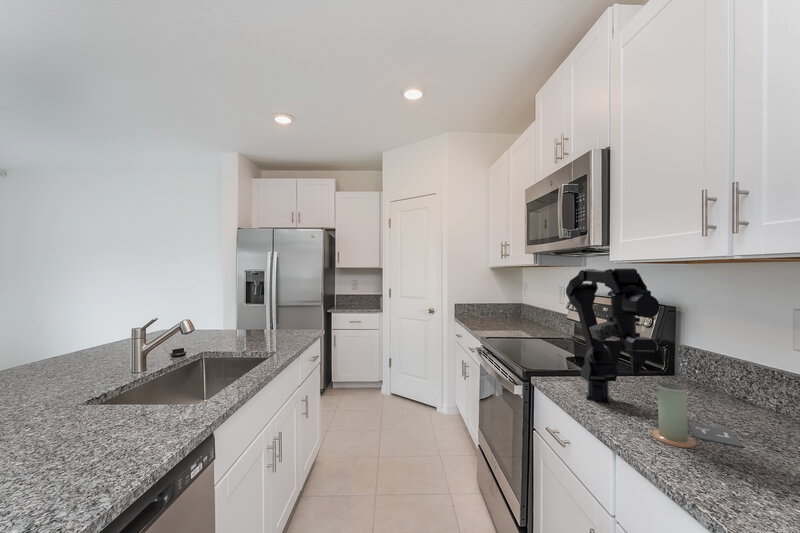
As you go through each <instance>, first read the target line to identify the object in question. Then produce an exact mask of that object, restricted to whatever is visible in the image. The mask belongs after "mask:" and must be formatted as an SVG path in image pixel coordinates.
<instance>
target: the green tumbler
mask: <svg viewBox="0 0 800 533" xmlns="http://www.w3.org/2000/svg"><path fill="white" fill-rule="evenodd" d="M657 400H658V401H657V404H658V405H657V407H658V409H657V410H658V412H657V413H658V429H659V435H660V436H662V437H663V438H666V439H668V440H672V441H676V442H687V441H688V436H689V434H688V433H689V432H688V431H689V429H688V427H689V426H688V425H689V423H688V388H687V387H686V386H684V385H682V384H678V383H673V382H658V383H657Z"/></svg>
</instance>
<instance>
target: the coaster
mask: <svg viewBox="0 0 800 533" xmlns="http://www.w3.org/2000/svg"><path fill="white" fill-rule="evenodd" d="M652 436H653V438H654V439H656V440H657V441H659V442H661V443H663V444H665V445H668V446H672V447H676V448H682V449H690V448H691V449H692V448H695V447H696V446H697V445H696V444H697V442H696V440H695V439H694V437H691V436H690V435H688V441H687V442H676V441H672V440H668V439H666V438H663V437H662V436H660V435H659V428H657V429H653V431H652Z"/></svg>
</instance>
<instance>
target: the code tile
mask: <svg viewBox="0 0 800 533" xmlns="http://www.w3.org/2000/svg"><path fill="white" fill-rule="evenodd" d="M688 425H689V427H690V429H691V431H692V433H693V435H694V438H695V439H697V440H702V441H703V440H704V441H707V442H713V443H717V444H722V445H726V446H727V445H728V446H733V447H737V448H743V445H742V444H741V443H740V441H739V440H738V438H737V437H736V436H735V434H734V433H733V431H732V430H731V429H730V428H726V427H720V426H716V425H715V426H713V425H709V424H703V423H698V422H694V421H693V422H692V421H688Z"/></svg>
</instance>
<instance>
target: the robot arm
mask: <svg viewBox="0 0 800 533" xmlns="http://www.w3.org/2000/svg"><path fill="white" fill-rule="evenodd" d="M586 282H588V283H586ZM589 282H591V283H589ZM598 283H599V284H604V287H607V288H609V289H610V291H608V292H607V296H608V297H610V308H611V309H610V314H611V315H608V316H606V321H604V322H600V323H599V322H598V320H597V317H596V313H595V309H594V306H593V305H594V302H595V299H596V295H595V294H596V292H597V291H598V289H599V287H598ZM565 295H566V296H567V297H568V301H569V303H570V304H571V305H572V306H573V307H574V308H575V309H576V310H577V315H578V319H579V323H580V326H581V330H582V333H583V337H584V338H583V339H584V341H585V344H586V347H587V349H586V350H587V351H586V354H585V355H584V364H583V365H582V367H581V368H580V372H579V373H580V378H582V379H584V380H585V381H587V393H586V397H585V400H587V401H593V402H599V403H603V404H611V399H612V398H611V395H610V391H609V390H610V388H609V387H610V385H609V384H610V383H609V382H616V381H617V377H618V373H619V366H618V363H619V360H620V356H621V353H622V349H623V344H624V346H625V348H624V351H625V352H627V353H628V354H629V355H628V356H629V361H630V367H631V368H630V369H631V373H632V375H634V376H635V375H639V372H641V370H642V368H643V366H644V364H646V361H647V360H648V359H649V357H650V356H651V355H652V354H654V353H655V352H656V351H658V348H659V347H658V342H657V341H656V340H655V339H653V338H650V337H646V336H641V333H640V332H637V323H640V322H641V320H640V317H642V318H645V319H651V318H654V317H655V316H656V315H658V314H659V312H660V307H661V306H660V305H661V304H660V302H659V301H658V299H657V298H656V297H655V296H653V295H652V291H651V290H648V286H647V285H646V284H645V281H643V279H642V277H641V275H640V273H639V272H638V270H637V269H635V268H625V267H624V268H608V269H605V270H600V269H599V270H598V269H592V268H591V269H584V268H583V269H581V270H580V271H579V272H578V274H577V275H576V276H575V277H573V278H571V279H570V280H569V281H568V284H567V286H566V289H565Z"/></svg>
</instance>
